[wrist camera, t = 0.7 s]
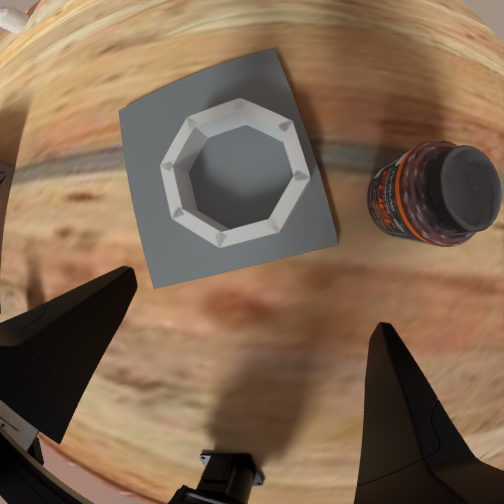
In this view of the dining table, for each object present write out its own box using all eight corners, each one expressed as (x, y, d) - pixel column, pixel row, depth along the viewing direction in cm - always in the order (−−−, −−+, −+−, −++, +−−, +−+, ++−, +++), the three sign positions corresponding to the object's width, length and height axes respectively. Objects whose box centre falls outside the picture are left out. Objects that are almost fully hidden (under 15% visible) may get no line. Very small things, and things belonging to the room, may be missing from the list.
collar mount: (337, 243, 21) (344, 247, 17) (159, 286, 24) (135, 297, 20) (274, 53, 20) (269, 28, 16) (124, 113, 23) (100, 101, 20)
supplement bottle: (355, 176, 20) (401, 132, 9) (415, 159, 19) (490, 115, 8) (377, 247, 21) (442, 270, 9) (436, 226, 19) (523, 232, 8)
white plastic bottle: (-9, 10, 16) (4, -5, 15) (19, 24, 27) (32, 11, 26) (-17, 25, 16) (-5, 9, 15) (13, 38, 28) (26, 25, 27)
